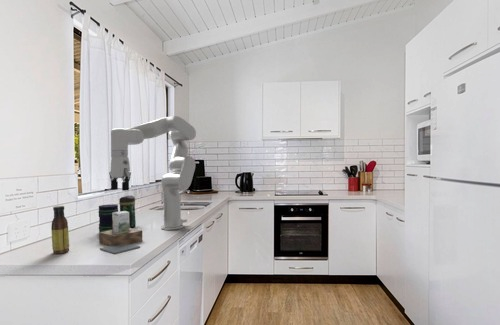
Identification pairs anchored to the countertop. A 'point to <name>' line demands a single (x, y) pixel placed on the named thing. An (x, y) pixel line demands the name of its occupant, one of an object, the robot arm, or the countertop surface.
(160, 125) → the robot arm
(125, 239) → the pocket block
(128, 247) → the mat
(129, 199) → the coffee jar
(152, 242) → the countertop surface
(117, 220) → the syrup box
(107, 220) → the storage jar
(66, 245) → the sauce bottle
